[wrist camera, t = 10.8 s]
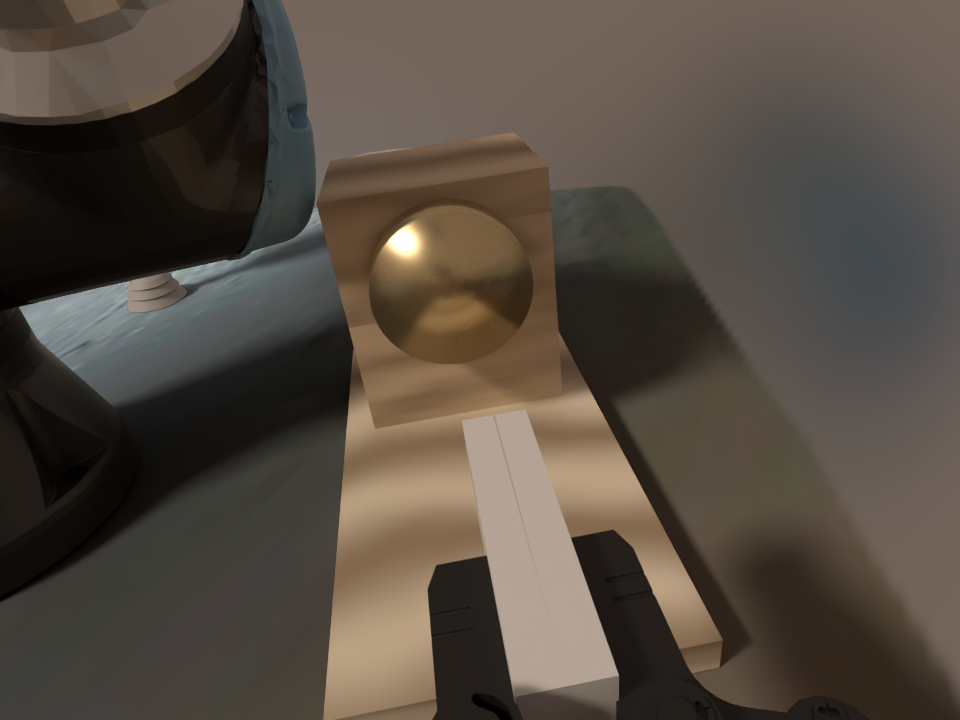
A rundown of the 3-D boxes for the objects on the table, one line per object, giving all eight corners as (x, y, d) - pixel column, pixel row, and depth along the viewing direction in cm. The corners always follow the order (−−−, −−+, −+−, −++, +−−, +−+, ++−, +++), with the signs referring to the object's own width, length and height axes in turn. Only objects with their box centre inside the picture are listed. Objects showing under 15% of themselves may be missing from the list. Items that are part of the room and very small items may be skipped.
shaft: (538, 349, 28) (526, 199, 25) (387, 376, 28) (352, 227, 24) (497, 256, 39) (484, 140, 35) (385, 275, 38) (360, 159, 35)
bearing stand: (719, 667, 21) (766, 310, 14) (334, 747, 20) (183, 412, 13) (551, 336, 41) (537, 125, 35) (358, 369, 41) (303, 161, 34)
